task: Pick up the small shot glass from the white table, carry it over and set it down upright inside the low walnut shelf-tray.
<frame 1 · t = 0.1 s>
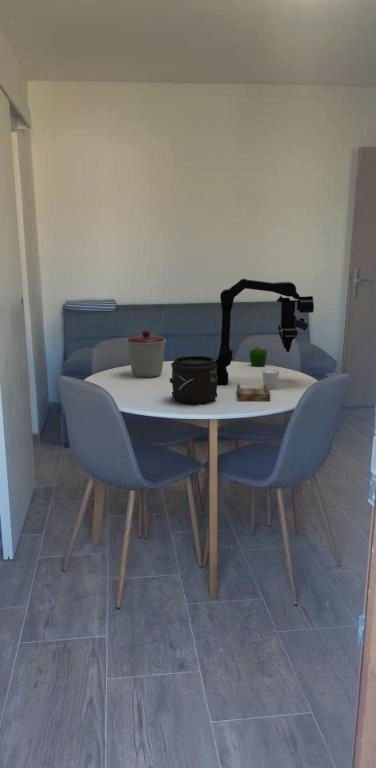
hand: (286, 350, 247), 15 cm above the table, tool pointing down, fingers open, 9 cm apart
tray: (252, 396, 230), on the table
black ribbed pot: (193, 400, 226), on the table
canister: (147, 376, 270), on the table
bell pepper: (257, 366, 290), on the table
shot glass: (270, 388, 244), on the table
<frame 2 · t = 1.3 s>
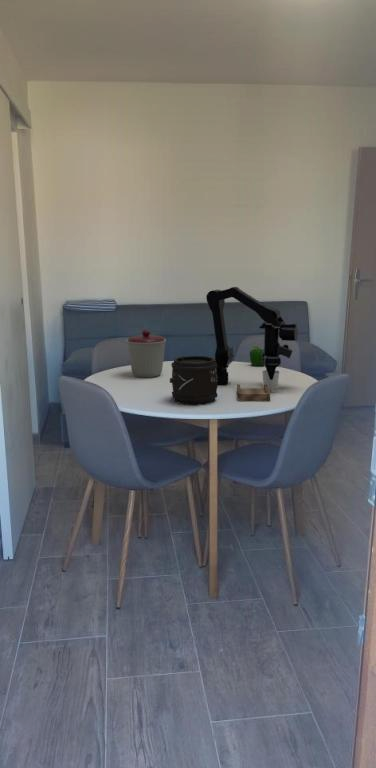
hand: (270, 377, 243), 4 cm above the table, tool pointing down, fingers open, 9 cm apart
nothing on the table moved.
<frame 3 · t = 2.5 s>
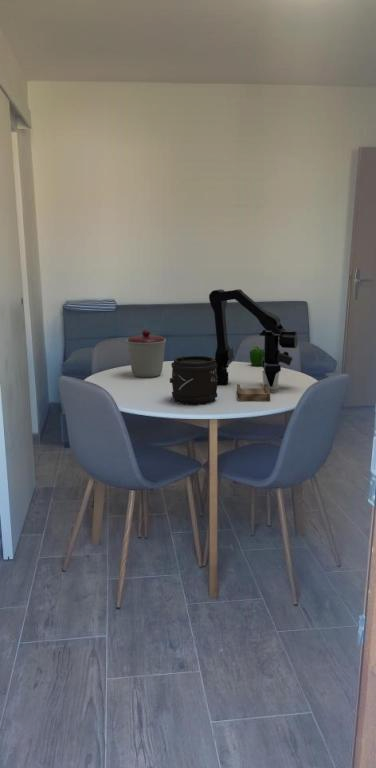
hand: (270, 384, 243), 2 cm above the table, tool pointing down, fingers closed on shot glass, 6 cm apart
shot glass: (270, 388, 244), on the table, touching gripper
everything else where it was.
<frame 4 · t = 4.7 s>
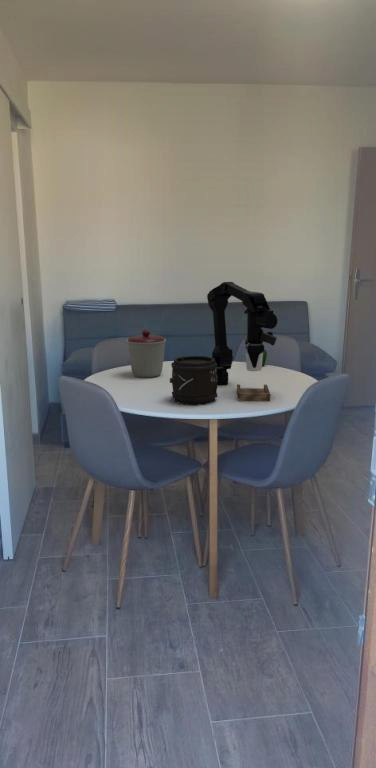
hand: (253, 366, 230), 11 cm above the table, tool pointing down, fingers closed on shot glass, 6 cm apart
shot glass: (254, 370, 230), point 10 cm above the table, touching gripper
everything else where it was.
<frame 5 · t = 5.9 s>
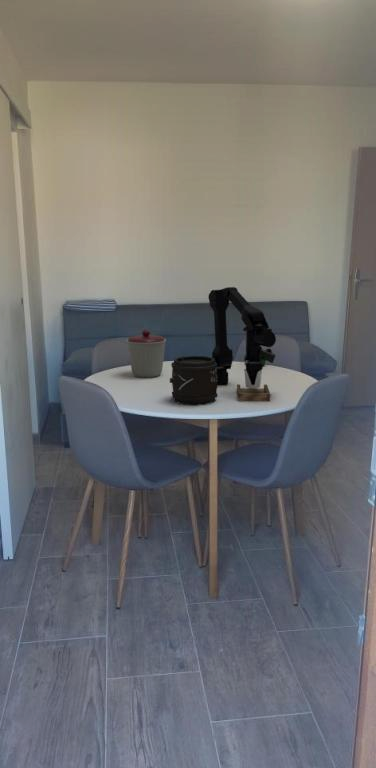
hand: (252, 382, 231), 5 cm above the table, tool pointing down, fingers closed on shot glass, 6 cm apart
shot glass: (252, 387, 232), point 3 cm above the table, touching gripper
everything else where it was.
when the fingers open (4 cm above the table, at t = 6.9 s): shot glass drops 1 cm, resting on tray.
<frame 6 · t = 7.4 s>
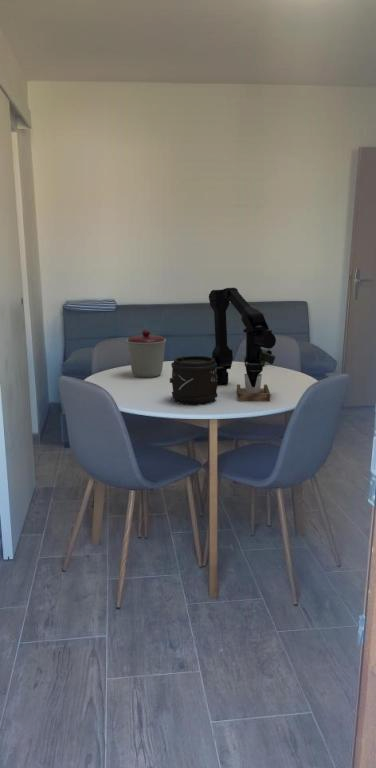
hand: (252, 384, 231), 4 cm above the table, tool pointing down, fingers open, 9 cm apart
shot glass: (252, 392, 232), point 1 cm above the table, touching tray
everything else where it was.
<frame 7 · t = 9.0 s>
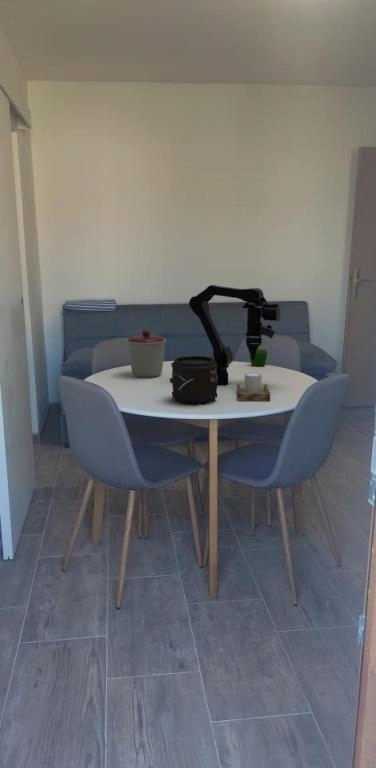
hand: (253, 357, 243), 12 cm above the table, tool pointing down, fingers open, 9 cm apart
nothing on the table moved.
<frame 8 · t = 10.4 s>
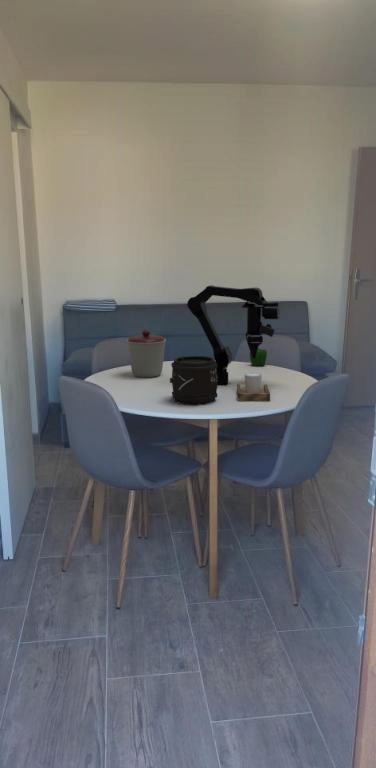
hand: (253, 356, 245), 13 cm above the table, tool pointing down, fingers open, 9 cm apart
nothing on the table moved.
at the end: shot glass inside the target area on the tray (2.1 cm from its centre), point 1.0 cm above the tray's base; shot glass tilted 0°; the gripper is holding nothing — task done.
